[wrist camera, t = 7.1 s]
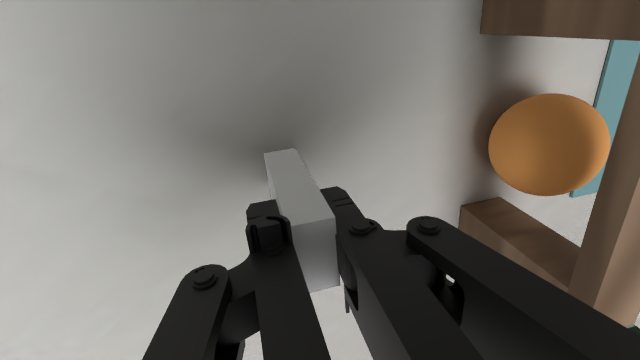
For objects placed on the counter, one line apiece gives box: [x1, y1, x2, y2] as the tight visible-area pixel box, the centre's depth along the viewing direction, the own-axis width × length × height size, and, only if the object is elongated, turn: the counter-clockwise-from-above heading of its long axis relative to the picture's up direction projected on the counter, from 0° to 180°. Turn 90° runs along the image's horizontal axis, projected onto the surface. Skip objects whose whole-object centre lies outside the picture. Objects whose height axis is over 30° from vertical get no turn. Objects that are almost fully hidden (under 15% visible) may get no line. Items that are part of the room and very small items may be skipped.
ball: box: [488, 94, 610, 196], centre depth 19 cm, size 6×6×6 cm
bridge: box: [459, 0, 640, 326], centre depth 17 cm, size 3×14×9 cm, turn 5°
